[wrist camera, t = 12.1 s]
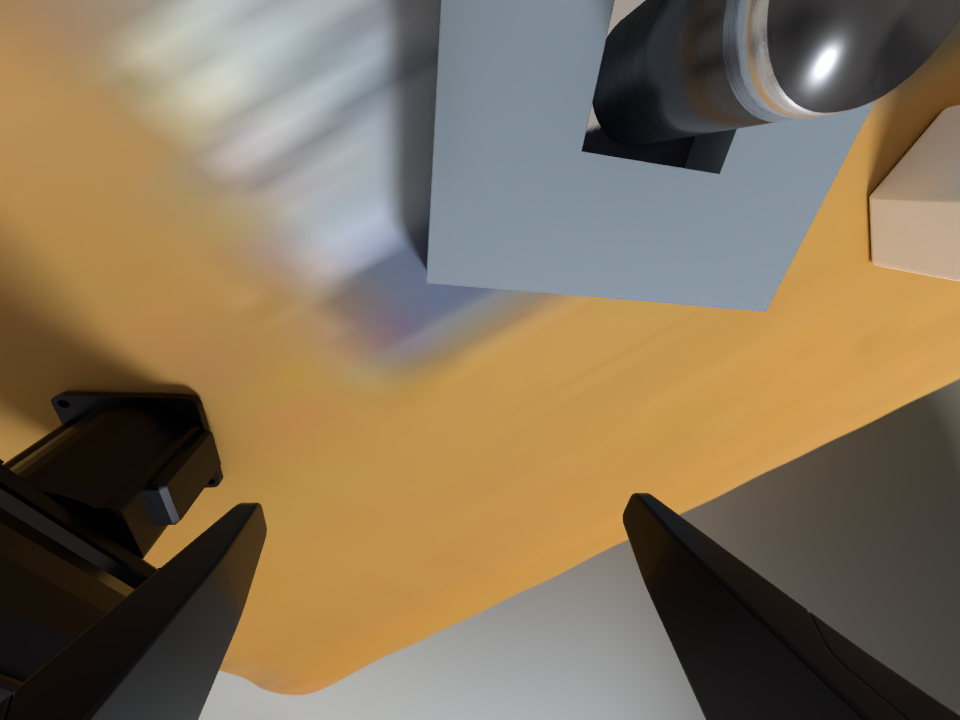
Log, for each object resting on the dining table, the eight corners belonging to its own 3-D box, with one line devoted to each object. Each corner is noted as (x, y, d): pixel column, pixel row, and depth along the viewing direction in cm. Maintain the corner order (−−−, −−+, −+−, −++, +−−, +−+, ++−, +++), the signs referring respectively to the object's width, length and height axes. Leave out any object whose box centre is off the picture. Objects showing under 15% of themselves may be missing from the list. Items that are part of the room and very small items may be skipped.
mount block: (426, 269, 17) (426, 283, 15) (461, -390, 9) (471, -563, 7) (729, 297, 21) (765, 311, 18) (947, -177, 13) (1057, -253, 10)
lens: (578, 137, 16) (733, 94, 8) (609, -9, 13) (868, -278, 6) (673, 154, 17) (899, 129, 9) (716, 18, 14) (1071, -179, 6)
